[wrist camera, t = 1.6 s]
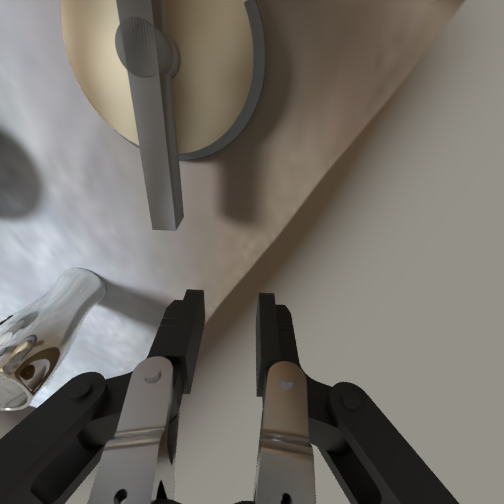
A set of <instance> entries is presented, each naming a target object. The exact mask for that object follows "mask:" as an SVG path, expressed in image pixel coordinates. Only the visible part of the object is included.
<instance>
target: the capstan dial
mask: <svg viewBox="0 0 504 504" xmlns="http://www.w3.org/2000/svg"><path fill="white" fill-rule="evenodd" d="M61 20H62V30H63V37H64V42H65V47H66V52H67V55H68V58H69V61H70V65H71V67H72V70H73V72H74V75H75V77H76V79H77V81H78V83H79V85H80V87H81V89H82V91H83V93H84V94H85V96H86V97H87V99H88V100H89V102H90V103H91V105H92V106H93V107H94V109H95V110H96V111H97V112H98V114H99V115H100V116H101V117H102V118H103V119H104V120H105V121H106V122H107V123H108V124H109V125H110V126H111V127H112V128H113V129H114V130H116V131H117V132H118V133H119V134H121V135H122V136H123V137H125V138H126V139H128V140H129V141H131V142H133V143H135V144H137V145H139V147H140V153H141V159H142V166H143V172H144V178H145V184H146V191H147V197H148V203H149V209H150V216H151V222H152V228H153V230H170V231H176V230H177V228H178V226H179V224H180V223H181V221H182V219H183V217H184V214H183V202H182V191H181V179H180V168H179V157H178V154H183V153H190V152H194V151H197V150H200V149H202V148H205V147H207V146H209V145H211V144H212V143H214V142H215V141H217V140H218V139H219V138H220V137H221V136H223V135H224V134H225V133H226V132H227V131H228V130H229V128H230V127H231V126H232V125H233V124H234V122H235V120H236V119H237V117H238V116H239V114H240V113H241V111H242V108H243V106H244V104H245V102H246V99H247V96H248V93H249V90H250V85H251V81H252V73H253V41H252V32H251V27H250V23H249V18H248V14H247V11H246V8H245V5H244V2H243V0H62V9H61Z"/></svg>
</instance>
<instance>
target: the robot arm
mask: <svg viewBox="0 0 504 504" xmlns="http://www.w3.org/2000/svg"><path fill="white" fill-rule="evenodd" d="M204 323H205V305H204V291H203V290H192V289H187V291H186V293H185V296H184V299H183V300H174V301H173V302H172V303H171V304H170V305H169V306H168V307H167V309H166V311H165V314H164V316H163V319H162V321H161V324H160V327H159V329H158V331H157V334H156V336H155V339H154V342H153V344H152V347H151V349H150V352H149V354H148V356H147V358H146V359H145V360H143V361H142V362H141V363H139V364H138V365H137V366H136V368H135V369H134V371H132V372H130V373H128V374H124V375H121V376H117V377H113V378H109V379H105V378H104V377H103V376H102V375H101V374H100V373H97V372H86V373H83V374H80V375H78V376H76V377H74V378H72V379H71V380H70V381H68V382H67V383H66V384H65V385H64V386H62V387H61V388H60V389H59V390H58V391H56V392H55V393H54V394H53V395H52V396H51V397H49V398H48V399H47V400H46V401H45V402H44V403H42V404H41V405H40V406H39V407H38V408H36V409H35V410H34V411H33V412H32V413H31V414H29V415H28V416H27V417H26V418H25V419H24V420H22V421H21V422H20V423H19V424H18V425H16V426H15V427H14V428H13V429H12V430H11V431H9V432H8V433H7V434H6V435H5V436H4V437H2V438H1V439H0V504H65V502H66V501H67V500H68V499H69V498H70V496H71V495H72V494H73V493H74V491H75V490H76V489H77V488H78V487H79V486H80V484H81V483H82V482H83V481H84V480H85V478H86V477H87V476H88V475H89V473H90V472H91V471H92V470H93V468H95V466H96V465H97V464H98V463H99V461H100V463H99V466H98V469H97V473H96V476H95V479H94V483H93V487H92V490H91V493H90V496H89V500H88V503H87V504H181V503H178V502H176V501H174V489H175V488H174V487H175V486H174V485H175V478H174V470H175V457H176V446H177V436H178V425H179V414H180V409H179V408H180V404H181V400H182V395H183V394H190V391H191V387H192V382H193V377H194V372H195V367H196V363H197V358H198V352H199V348H200V343H201V339H202V334H203V329H204ZM256 377H257V378H256V382H257V396H258V397H263V398H262V399H263V411H262V420H261V429H260V438H259V448H258V457H257V466H256V475H255V484H254V492H253V501H241V502H238V503H235V504H316V494H315V493H316V492H315V475H314V474H315V473H314V456H313V449H312V445H311V444H313V445H316V446H317V447H318V449H319V451H320V452H321V454H322V456H323V457H324V459H325V461H326V462H327V464H328V466H329V468H330V469H331V471H332V473H333V474H334V476H335V477H336V479H337V481H338V483H339V485H340V486H341V488H342V490H343V491H344V493H345V495H346V496H347V498H348V500H349V502H350V503H351V504H459V503H458V502H457V501H456V499H455V498H454V497H453V496H452V494H451V493H450V492H449V491H448V490H447V489H446V488H445V486H444V485H443V484H442V483H441V482H440V480H439V479H438V478H437V477H436V476H435V474H434V473H433V472H432V471H431V470H430V468H429V467H428V466H427V465H426V464H425V462H424V461H423V460H422V459H421V458H420V457H419V455H418V454H417V453H416V452H415V451H414V449H413V448H412V447H411V446H410V445H409V444H408V442H407V441H406V440H405V439H404V438H403V437H402V435H401V434H400V433H399V432H398V431H397V429H396V428H395V427H394V426H393V425H392V423H391V422H390V421H389V420H388V419H387V417H386V416H385V415H384V414H383V413H382V412H381V410H380V409H379V408H378V407H377V406H376V404H375V403H374V402H373V401H372V400H371V398H370V397H369V396H368V395H367V394H366V393H365V392H364V391H363V390H362V389H361V388H360V387H358V386H357V385H355V384H352V383H349V382H340V383H337V384H335V385H334V386H333V387H331V386H328V385H325V384H322V383H320V382H317V381H315V380H313V379H311V378H310V377H309V376H308V375H307V374H305V372H304V371H303V370H302V368H301V366H300V363H299V358H298V352H297V347H296V340H295V334H294V329H293V325H292V317H291V313H290V311H289V310H288V309H287V307H286V306H285V305H275V296H274V293H258V303H257V315H256ZM310 443H311V444H310Z"/></svg>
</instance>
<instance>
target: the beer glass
mask: <svg viewBox="0 0 504 504" xmlns="http://www.w3.org/2000/svg"><path fill="white" fill-rule="evenodd" d="M105 294H106V287H105V285H104V283H103V281H102V280H101V279H100V278H99V277H98V276H97V275H95V274H94V273H92V272H90V271H88V270H85V269H81V268H71V269H67V270H65V271H64V272H62V273H61V275H60V276H59V277H58V279H57V280H56V282H55V284H54V285H53V286H52V288H51V289H50V290H49V291H48V292H47V293H45V294H44V295H43V296H42V297H40V298H39V299H37V300H36V301H34V302H33V303H31V304H30V305H28V306H27V307H25V308H24V309H22V310H21V311H19V312H18V313H16V314H15V315H13V316H12V317H11V318H9V319H8V320H7V321H5V322H4V323H3V324H1V325H0V410H4V411H11V410H12V411H13V410H20V409H23V408H25V407H27V406H28V405H29V404H30V403H31V401H32V400H33V399H34V397H35V396H36V395H37V394H38V393H39V391H40V390H41V389H42V388H43V387H44V385H45V384H46V383H47V382H48V380H49V379H50V378H51V377H52V375H53V374H54V373H55V371H56V370H57V369H58V367H59V366H60V365H61V363H62V362H63V360H64V358H65V357H66V355H67V354H68V352H69V350H70V348H71V346H72V345H73V343H74V340H75V338H76V336H77V334H78V332H79V330H80V328H81V325H82V323H83V321H84V319H85V317H86V316H87V314H88V313H89V312H90V310H91V309H92V308H93V307H94V306H96V305H97V304H98V303H99V302H100V301H101V300H102V299H103V298H104V296H105Z"/></svg>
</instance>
